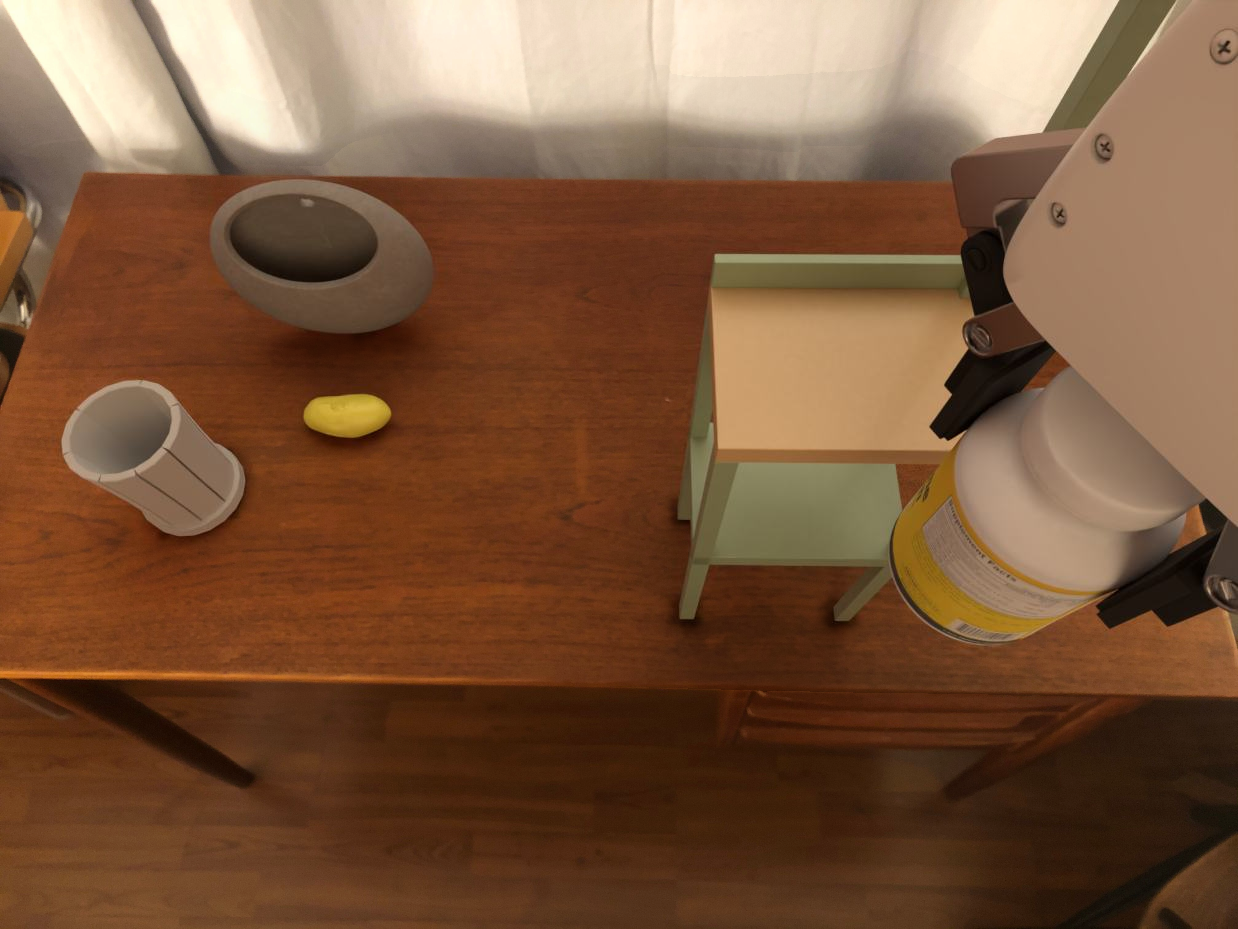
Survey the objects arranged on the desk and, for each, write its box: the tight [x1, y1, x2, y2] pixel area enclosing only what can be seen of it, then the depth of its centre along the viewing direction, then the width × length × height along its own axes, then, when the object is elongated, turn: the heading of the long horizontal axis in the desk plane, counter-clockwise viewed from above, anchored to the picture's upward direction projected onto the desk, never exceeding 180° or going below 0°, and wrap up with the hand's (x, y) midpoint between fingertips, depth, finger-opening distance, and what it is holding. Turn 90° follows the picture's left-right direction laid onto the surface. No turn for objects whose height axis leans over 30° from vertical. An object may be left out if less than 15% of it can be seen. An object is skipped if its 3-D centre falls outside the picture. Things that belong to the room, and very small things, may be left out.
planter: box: [209, 178, 435, 334], centre depth 71 cm, size 18×7×19 cm, turn 94°
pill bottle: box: [888, 364, 1207, 646], centre depth 26 cm, size 6×6×12 cm
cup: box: [60, 379, 246, 537], centre depth 66 cm, size 10×9×12 cm
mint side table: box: [677, 0, 1177, 622], centre depth 43 cm, size 10×14×55 cm
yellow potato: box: [302, 393, 392, 439], centre depth 72 cm, size 4×8×4 cm, turn 87°
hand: (1050, 498), depth 25 cm, fingers closed on pill bottle, 6 cm apart
